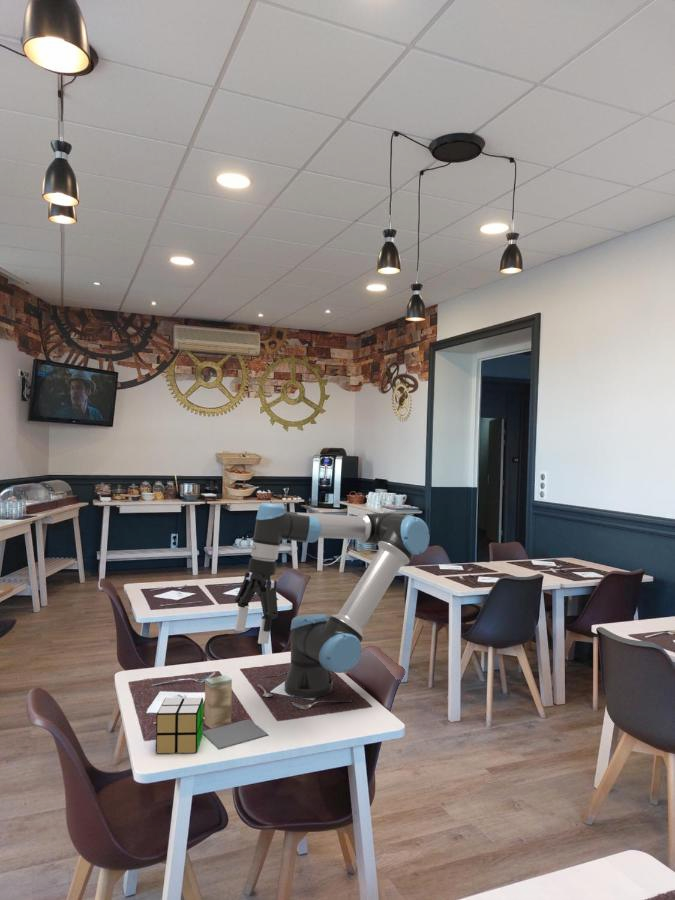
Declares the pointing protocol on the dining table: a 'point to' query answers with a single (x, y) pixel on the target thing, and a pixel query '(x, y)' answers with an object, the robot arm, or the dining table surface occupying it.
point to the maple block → (218, 701)
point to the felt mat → (234, 734)
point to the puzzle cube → (179, 725)
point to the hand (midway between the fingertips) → (250, 636)
